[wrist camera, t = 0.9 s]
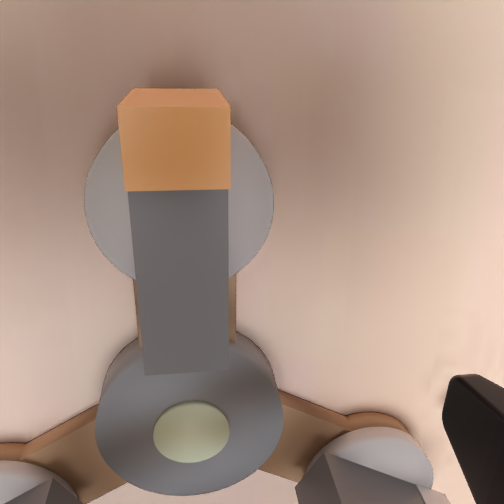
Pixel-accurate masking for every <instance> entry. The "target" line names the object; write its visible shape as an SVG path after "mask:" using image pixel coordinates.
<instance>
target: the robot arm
mask: <svg viewBox="0 0 504 504" xmlns="http://www.w3.org/2000/svg"><path fill="white" fill-rule="evenodd" d="M442 421H443V425H444V428H445V431H446V433H447V436H448V438H449V440H450V443H451V445H452V448H453V450H454V452H455V455H456V457H457V459H458V462H459V464H460V467H461V469H462V471H463V474H464V476H465V478H466V481H467V483H468V486H469V488H470V490H471V493H472V495H473V497H474V500H475V502H476V504H504V388H502V387H501V386H499V385H497V384H495V383H493V382H491V381H489V380H488V379H486V378H484V377H482V376H480V375H477V374H465V375H456V376H453V377H452V378H451V380H450V382H449V385H448V390H447V394H446V398H445V402H444V407H443V411H442Z"/></svg>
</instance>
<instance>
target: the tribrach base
mask: <svg viewBox="0 0 504 504" xmlns="http://www.w3.org/2000/svg"><path fill="white" fill-rule="evenodd" d="M133 284H134V294H135V304H136V315H137V325H138V336H139V338H137V339H136V340H134V341H132V342H131V343H130V344H129V345H128V346H126V347H125V348H124V349H123V350H122V351H121V352H120V353H119V354H118V355H117V357H116V358H115V359H114V361H113V362H112V364H111V365H110V367H109V369H108V372H107V374H106V377H105V380H104V384H103V388H102V393H101V397H100V402H99V404H98V405H96V406H94V407H92V408H90V409H88V410H87V411H85V412H83V413H81V414H79V415H78V416H76V417H74V418H72V419H70V420H68V421H67V422H65V423H63V424H61V425H59V426H57V427H56V428H54V429H52V430H50V431H48V432H47V433H45V434H43V435H41V436H39V437H37V438H36V439H34V440H32V441H30V442H28V443H27V444H23V443H2V444H0V461H3V460H6V461H19V462H26V463H30V464H34V465H37V466H40V467H43V468H45V469H48V470H50V471H52V472H54V473H55V474H57V475H59V476H60V477H61V478H63V479H64V480H65V481H66V482H67V483H68V484H69V485H70V486H71V487H72V489H73V490H74V491H75V493H76V495H77V497H78V500H79V501H81V502H82V503H83V504H87V503H89V502H91V501H93V500H95V499H97V498H99V497H100V496H102V495H104V494H106V493H108V492H110V491H112V490H114V489H116V488H118V487H119V486H121V485H123V484H125V483H127V482H129V483H130V484H132V485H134V486H137V487H139V488H141V489H144V490H147V491H150V492H154V493H159V494H165V495H175V496H188V495H199V494H206V493H210V492H214V491H218V490H221V489H224V488H226V487H229V486H231V485H233V484H236V483H238V482H240V481H241V480H243V479H245V478H246V477H248V476H249V475H251V474H252V473H253V472H255V471H256V470H257V469H259V470H262V471H265V472H268V473H271V474H274V475H277V476H280V477H283V478H286V479H289V480H293V481H296V482H300V480H301V479H302V478H303V477H304V475H305V472H306V469H307V467H308V465H309V463H310V462H311V460H312V459H313V457H314V456H315V455H316V454H317V453H318V452H319V451H320V450H321V449H322V448H323V447H324V446H325V445H327V444H328V443H329V442H331V441H332V440H334V439H336V438H338V437H339V436H341V435H344V434H346V433H348V432H351V431H354V430H358V429H362V428H368V427H390V428H395V429H398V430H401V431H404V432H406V433H408V431H407V430H406V428H405V427H404V425H403V424H402V423H401V422H399V421H398V420H397V419H395V418H393V417H391V416H388V415H385V414H381V413H374V412H363V413H356V414H351V415H348V416H343V415H341V414H338V413H336V412H333V411H331V410H328V409H326V408H323V407H320V406H318V405H315V404H313V403H310V402H308V401H305V400H303V399H300V398H298V397H295V396H293V395H290V394H288V393H285V392H283V391H280V390H278V389H277V385H276V382H275V378H274V374H273V371H272V368H271V366H270V363H269V361H268V359H267V358H266V356H265V354H264V353H263V352H262V351H261V350H260V348H259V347H258V346H257V345H256V344H254V343H253V342H252V341H251V340H250V339H248V338H247V337H245V336H244V335H242V334H240V333H238V332H236V274H234V275H233V276H231V277H230V278H229V370H218V371H204V372H190V373H176V374H162V375H148V376H145V373H144V363H143V352H142V341H141V331H140V320H139V309H138V298H137V288H136V280H135V279H133ZM408 434H409V433H408Z"/></svg>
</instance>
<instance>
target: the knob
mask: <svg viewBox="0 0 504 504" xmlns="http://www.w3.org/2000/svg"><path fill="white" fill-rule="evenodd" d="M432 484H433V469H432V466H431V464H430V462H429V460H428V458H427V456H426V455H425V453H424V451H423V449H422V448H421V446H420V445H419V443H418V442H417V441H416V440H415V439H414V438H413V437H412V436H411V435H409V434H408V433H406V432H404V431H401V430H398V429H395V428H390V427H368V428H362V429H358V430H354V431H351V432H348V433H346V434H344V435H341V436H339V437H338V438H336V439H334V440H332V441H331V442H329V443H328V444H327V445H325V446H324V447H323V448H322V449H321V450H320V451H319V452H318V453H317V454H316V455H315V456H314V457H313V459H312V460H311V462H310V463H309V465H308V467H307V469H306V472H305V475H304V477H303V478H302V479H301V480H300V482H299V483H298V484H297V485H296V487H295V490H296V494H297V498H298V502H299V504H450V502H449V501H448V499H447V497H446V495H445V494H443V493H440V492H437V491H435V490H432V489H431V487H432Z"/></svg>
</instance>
